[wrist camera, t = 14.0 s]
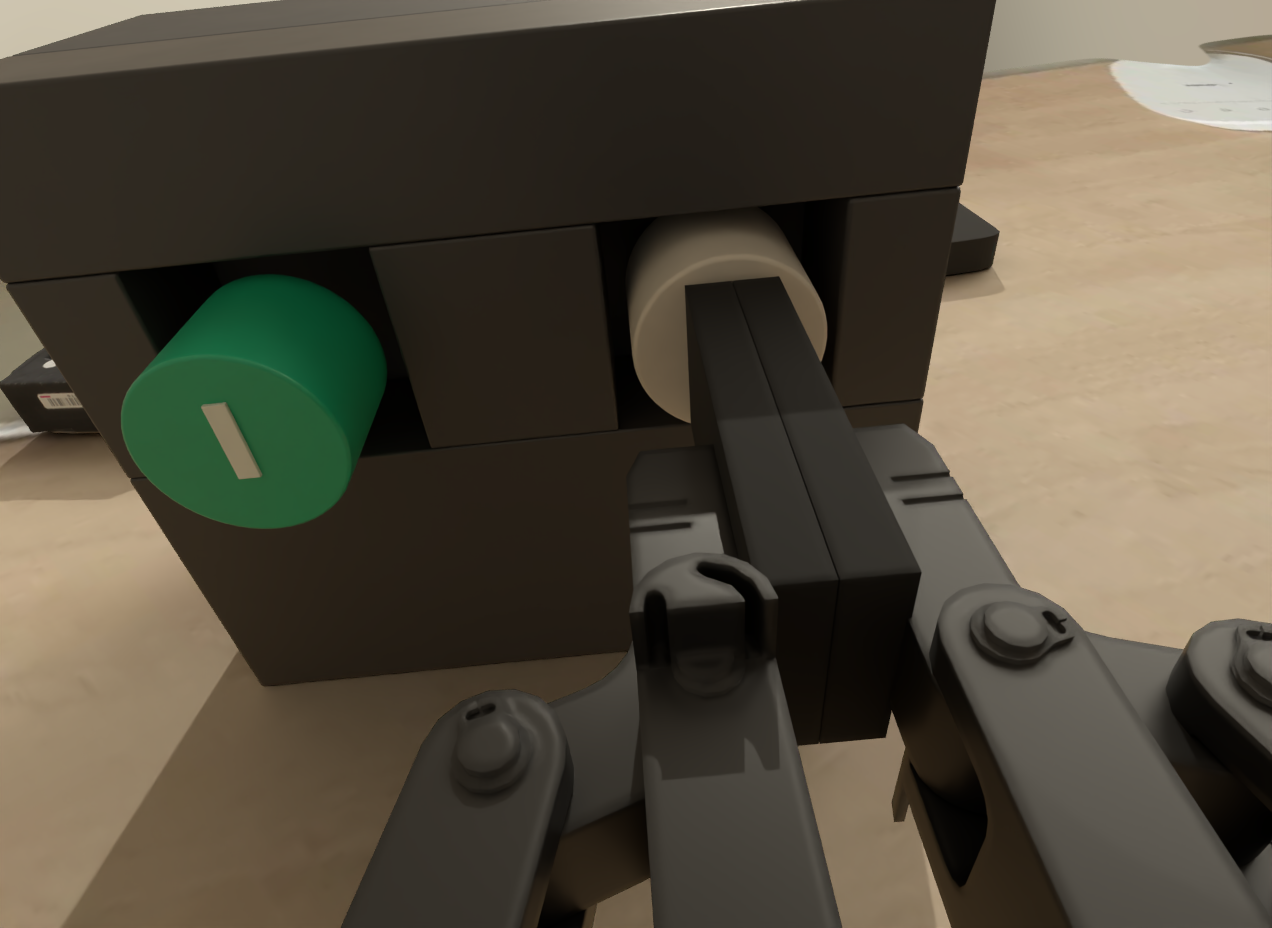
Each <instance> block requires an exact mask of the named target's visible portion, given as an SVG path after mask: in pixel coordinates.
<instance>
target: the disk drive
mask: <svg viewBox="0 0 1272 928" xmlns="http://www.w3.org/2000/svg"><path fill="white" fill-rule="evenodd" d="M0 388H1V390H2V391H3V393H4V394H5V395H6V397H7V398H8V400H9V401H10V403H11V404H12V406H13V407H14V408H15V410H16V411H17V413H18V414H19V415H20V416H21V418H22V419H23V420H24V422H25V423H26V424H27V426H28V427H29V429H30V431H31V432H33V433H34V432H43V431H50V432H52V433H61V432H62V433H99V431H98V430H97V428H96V427H95V425H94V424H93V422H92V421H91V419H90V417H89V416H88V414H87V413H86V411H85V410H84V408H83V407H82V405H81V403H80V402H79V400H78V399H77V397H76V396H75V394H74V393H73V391H72V389H71V388H70V386H69V385H68V383H67V382H66V380H65V379H64V377H63V376H62V374H61V372H60V371H59V369H58V368H57V366H56V365H55V363H54V362H53V360H52V358H51V357H50V355H49V354H48V352H47V351H46V349H45V348H44V349H42V350H40V351H39V352H37V353H36V354H34V355H33V356H32V357H31V358H29V359H28V360H26V361H25V362H24V363H22V364H21V365H20V366H19V367H18V368H16V369H15V370H14V371H13V372H12V373H11V374H10V375H9V376H8V377H6V378H5V379H4V380H2V381H1V382H0Z"/></svg>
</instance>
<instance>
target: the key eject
mask: <svg viewBox="0 0 1272 928" xmlns="http://www.w3.org/2000/svg"><path fill="white" fill-rule="evenodd" d="M776 276H779V277H780V279H781V281H782V283H783V285H784V287H785V289H786V291H787V293H788V295H789V297H790V299H791V302H792V304H793V306H794V308H795V310H796V312H797V314H798V316H799V318H800V320H801V322H802V324H803V326H804V328H805V331H806V333H807V335H808V337H809V339H810V341H811V343H812V345H813V347H814V349H815V351H816V353H817V355H818V357H819V360H820V362H821V361H822V358H823V354H824V351H825V347H826V341H827V320H826V314H825V311H824V307H823V304H822V302H821V300H820V298H819V296H818V294H817V292H816V290H815V288H814V286H813V285H812V283H811V281H810V279H809V277H808V276H807V274H806V272H805V270H804V269H803V267H802V265H801V263H800V261H799V260H798V258H797V256H796V254H795V253H794V251H793V249H792V247H791V245H790V244H789V242H788V240H787V238H786V237H785V235H784V233H783V231H782V230H781V229H780V227H779V226H778V224H777V223H776V222H775V221H774V220H773V219H772V218H771V217H770V216H769V215H768V214H766V213H765V212H764V211H763V210H761V209H760V208H758V207H748V208H738V209H728V210H718V211H709V212H699V213H689V214H679V215H670V216H660V217H658V218H656V219H655V220H654V221H653V222H652V223H651V224H650V225H649V226H648V227H647V228H646V229H645V230H644V232H643V233H642V234H641V236H640V237H639V239H638V240H637V242H636V244H635V246H634V247H633V250H632V252H631V255H630V257H629V261H628V265H627V269H626V277H625V286H626V298H627V308H628V318H629V327H630V337H631V347H632V357H633V362H634V368H635V371H636V374H637V377H638V379H639V381H640V383H641V385H642V387H643V388H644V390H645V391H646V393H647V394H648V395H649V397H650V398H651V399H652V400H653V401H654V402H655V403H656V404H657V405H658V406H660V407H661V408H662V409H663V410H665V411H666V412H668V413H669V414H671V415H673V416H674V417H676V418H678V419H681V420H683V421H685V422H688V423H691V418H690V395H689V372H688V349H687V327H686V304H685V285H694V284H704V283H714V282H724V281H735V280H745V279H755V278H766V277H776Z"/></svg>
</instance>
